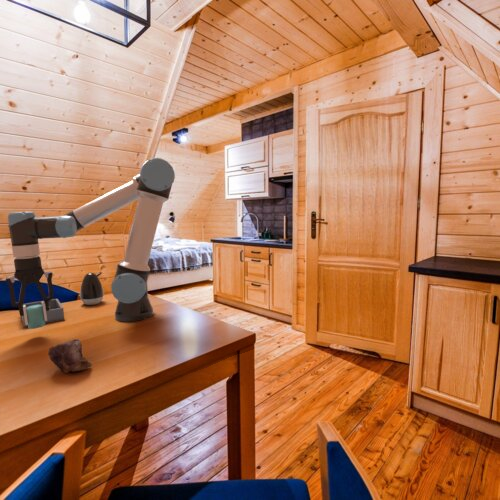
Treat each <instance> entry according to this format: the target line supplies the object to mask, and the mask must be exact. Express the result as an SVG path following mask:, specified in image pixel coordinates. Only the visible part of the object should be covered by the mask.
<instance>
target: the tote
mask: <svg viewBox="0 0 500 500" xmlns="http://www.w3.org/2000/svg"><path fill="white" fill-rule="evenodd" d="M42 302H44V300H41V301H33V302H27V303H23V305H25V306H26V308H27V307H29V306H33V305H42ZM49 307H50V310H49V311H46V315H47V321H45V324H49V323H55V322H59V321H65V312H64V311H65V310H64V307H63V304H62V303H61V302H60V300H59V299H58V298H54V299H53V300H50V301H49ZM21 320H22V325H23V328H28V325H25V319H24V316H21Z"/></svg>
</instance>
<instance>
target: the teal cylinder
mask: <svg viewBox="0 0 500 500" xmlns="http://www.w3.org/2000/svg"><path fill="white" fill-rule="evenodd" d="M26 313H27V320H28V327H27V328H28V329H31V330H34V329H38V328H42V327H45V326H46V323H45V320H44V313H43V306H42V305H33V306H29V307H27V308H26Z"/></svg>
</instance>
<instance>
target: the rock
mask: <svg viewBox="0 0 500 500" xmlns="http://www.w3.org/2000/svg"><path fill="white" fill-rule="evenodd" d="M82 346H83V345H82V341H81V340H80V339H79V338H78V339H77V338H76V339H73V340H69V341H65V342H62V343H59V344H56V345H54V346H52V347H49V350H48V354H47V356H49V359H50V360H51V362H52V363H53V364H54V365H56V367H57V368H58V369H59V370H61V372H62V373H65V374H68V373H70V372H79V371H85V370H87V369H89V368H91V367H92V366H93V365H92V363H91V362H89V361H88V360H87V358H85V357H84V356H83V348H82Z"/></svg>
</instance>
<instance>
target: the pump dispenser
mask: <svg viewBox="0 0 500 500" xmlns="http://www.w3.org/2000/svg"><path fill="white" fill-rule="evenodd" d="M101 275H102V273H101V272H98V273H94V272H87V273H86V274H85V275H84V277H83V279H82V282H81V285H80V288H79V289H80V291H79V299H80V300H81V301H82V303H83V304H84V305H87V306H94V305H98V304H100V303H101V302H102V301H103V297H104V294H105V293H104V288H103V284H102V282H101V280H100V278H99V276H101Z"/></svg>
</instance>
